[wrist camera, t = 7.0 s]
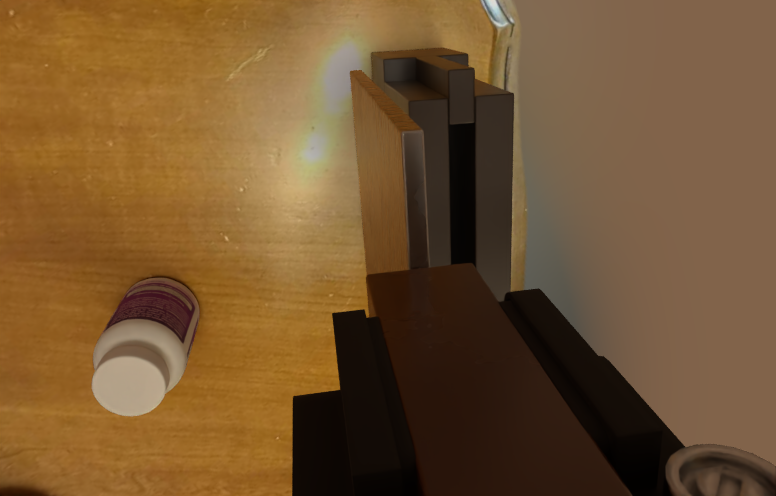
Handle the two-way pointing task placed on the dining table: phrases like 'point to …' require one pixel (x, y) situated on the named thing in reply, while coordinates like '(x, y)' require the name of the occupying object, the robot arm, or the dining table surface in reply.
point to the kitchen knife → (457, 341)
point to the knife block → (459, 156)
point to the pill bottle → (145, 346)
